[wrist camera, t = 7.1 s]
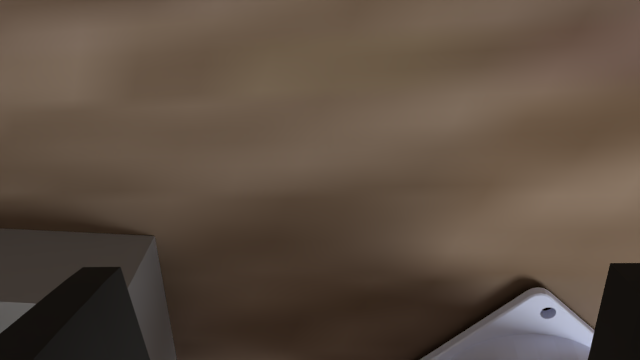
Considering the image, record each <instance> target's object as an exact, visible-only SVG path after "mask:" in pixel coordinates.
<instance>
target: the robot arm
mask: <svg viewBox="0 0 640 360" xmlns="http://www.w3.org/2000/svg"><path fill="white" fill-rule="evenodd" d="M544 308H551V309H549V310H546V311H544V310H543V309H544ZM0 360H150V358H149V355H148V351H147V348H146V345H145V342H144V339H143V336H142V333H141V329H140V326H139V323H138V320H137V317H136V314H135V311H134V307H133V304H132V301H131V298H130V295H129V292H128V289H127V285H126V282H125V279H124V276H123V273H122V270H121V267H82V268H81V269H80V270H78V271H77V272H76V273H74V274H73V275H72V276H70V277H69V278H68V279H66V280H65V281H64V282H63V283H61V284H60V285H59V286H58V287H56V288H55V289H54V290H53V291H51V292H50V293H49V294H48V295H46V296H45V297H44V298H43V299H42V300H40V301H39V302H38V303H37V304H35V305H34V306H33V307H32V308H31V309H29V310H28V311H27V312H26V313H25V314H23V315H22V316H21V317H20V318H19V319H17V320H16V321H15V322H14V323H12V324H11V325H10V326H9V327H8V328H6V329H5V330H4V331H3V332H1V333H0ZM420 360H640V263H610V267H609V271H608V275H607V279H606V284H605V288H604V292H603V297H602V301H601V305H600V309H599V314H598V318H597V322H596V326H595V330H594V329H592V328H591V327H590V326H589V325H588V324H587V323H585V322H584V321H583V320H582V319H581V318H580V317H579V316H577V315H576V314H575V313H574V312H573V311H572V310H570V309H569V308H568V307H567V306H566V305H565V304H563V303H562V302H561V301H560V300H559V299H558V298H557V297H555V296H554V295H553V294H552V293H551V292H550V291H548V290H547V289H545V288H540V287H536V288H531V289H529V290H527V291H525V292H524V293H522V294H521V295H519V296H518V297H516V298H515V299H513V300H512V301H510V302H508V303H507V304H505V305H504V306H502V307H501V308H499V309H498V310H496V311H494V312H493V313H491V314H490V315H488V316H487V317H485V318H484V319H482V320H481V321H479V322H477V323H476V324H474V325H473V326H471V327H470V328H468V329H467V330H465V331H463V332H462V333H460V334H459V335H457V336H456V337H454V338H453V339H451V340H450V341H448V342H446V343H445V344H443V345H442V346H440V347H439V348H437V349H436V350H434V351H432V352H431V353H429V354H428V355H426V356H425V357H423V358H422V359H420Z"/></svg>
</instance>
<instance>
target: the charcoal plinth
mask: <svg viewBox="0 0 640 360" xmlns="http://www.w3.org/2000/svg"><path fill="white" fill-rule="evenodd" d="M82 267H121V270H122V273H123V276H124V279H125V282H126V285H127V289H128V292H129V295H130V298H131V301H132V304H133V307H134V311H135V314H136V317H137V320H138V323H139V326H140V329H141V333H142V336H143V339H144V342H145V345H146V348H147V351H148V355H149V358H150V360H177V357H176V352H175V346H174V341H173V335H172V330H171V324H170V318H169V313H168V307H167V302H166V296H165V291H164V285H163V279H162V274H161V268H160V263H159V257H158V251H157V246H156V240H155V236H146V235H125V234H105V233H84V232H64V231H43V230H23V229H2V228H0V333H1V332H3V331H4V330H5V329H6V328H8V327H9V326H10V325H11V324H12V323H14V322H15V321H16V320H17V319H19V318H20V317H21V316H22V315H23V314H25V313H26V312H27V311H28V310H29V309H31V308H32V307H33V306H34V305H35V304H37V303H38V302H39V301H40V300H42V299H43V298H44V297H45V296H46V295H48V294H49V293H50V292H51V291H53V290H54V289H55V288H56V287H58V286H59V285H60V284H61V283H63V282H64V281H65V280H66V279H68V278H69V277H70V276H72V275H73V274H74V273H76V272H77V271H78V270H80V269H81V268H82Z"/></svg>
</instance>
